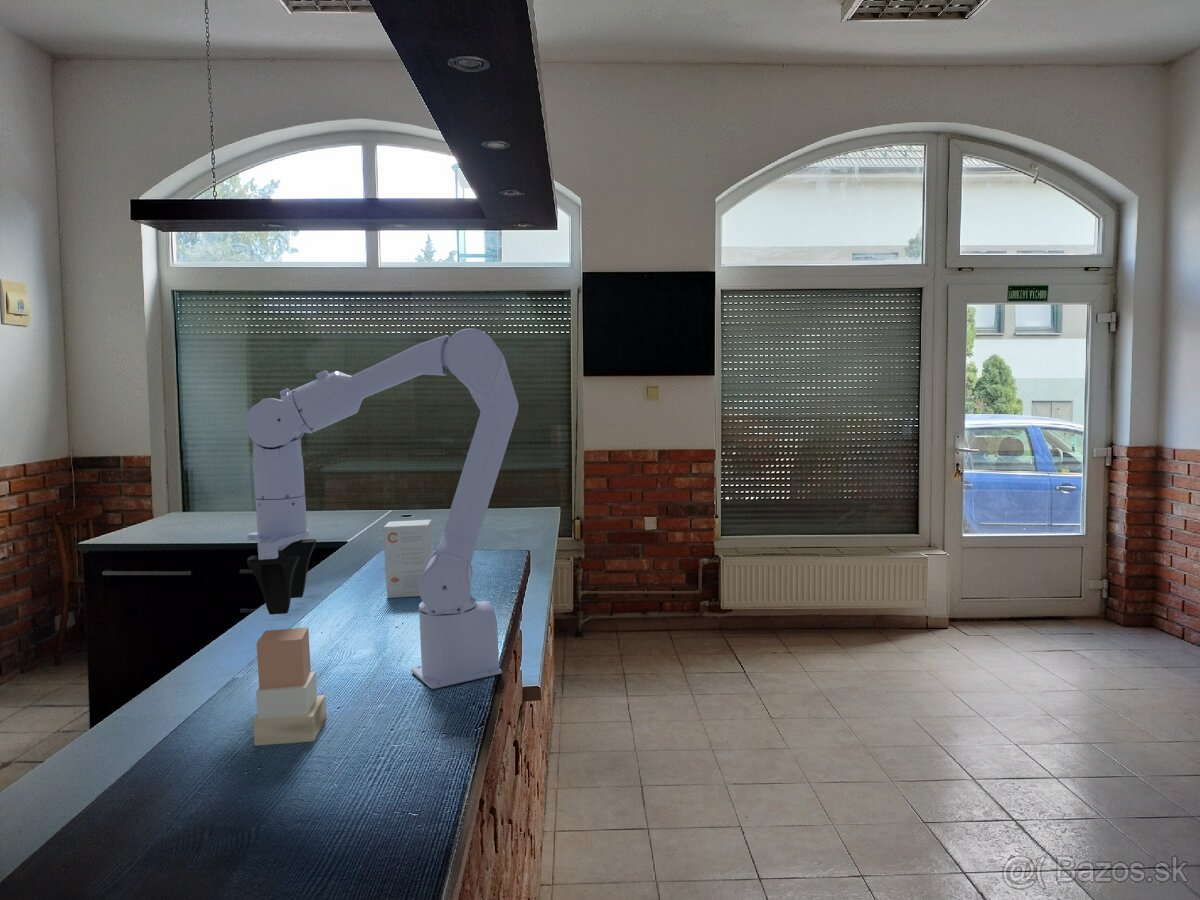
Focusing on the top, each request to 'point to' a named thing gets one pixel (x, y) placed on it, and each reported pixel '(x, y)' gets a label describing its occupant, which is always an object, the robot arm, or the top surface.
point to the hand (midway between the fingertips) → (286, 605)
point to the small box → (406, 555)
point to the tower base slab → (291, 726)
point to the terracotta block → (283, 658)
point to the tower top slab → (287, 700)
